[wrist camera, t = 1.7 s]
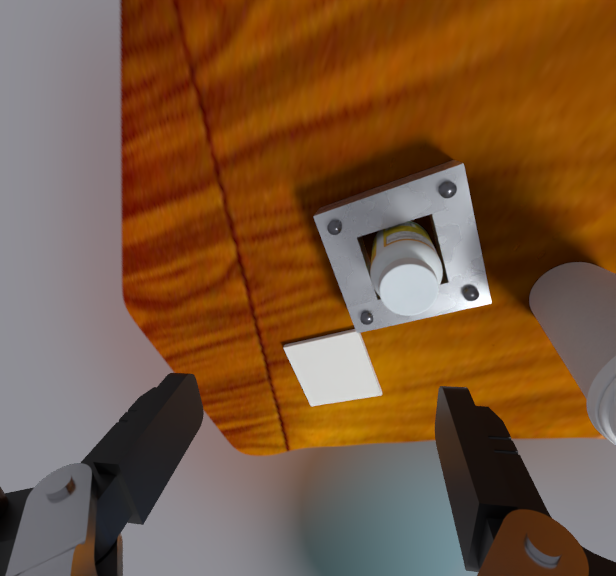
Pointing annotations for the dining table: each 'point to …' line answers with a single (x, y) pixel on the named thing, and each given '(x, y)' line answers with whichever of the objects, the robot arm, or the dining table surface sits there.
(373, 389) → the mat
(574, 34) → the dining table surface
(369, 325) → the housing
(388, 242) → the supplement bottle
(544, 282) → the coffee cup
